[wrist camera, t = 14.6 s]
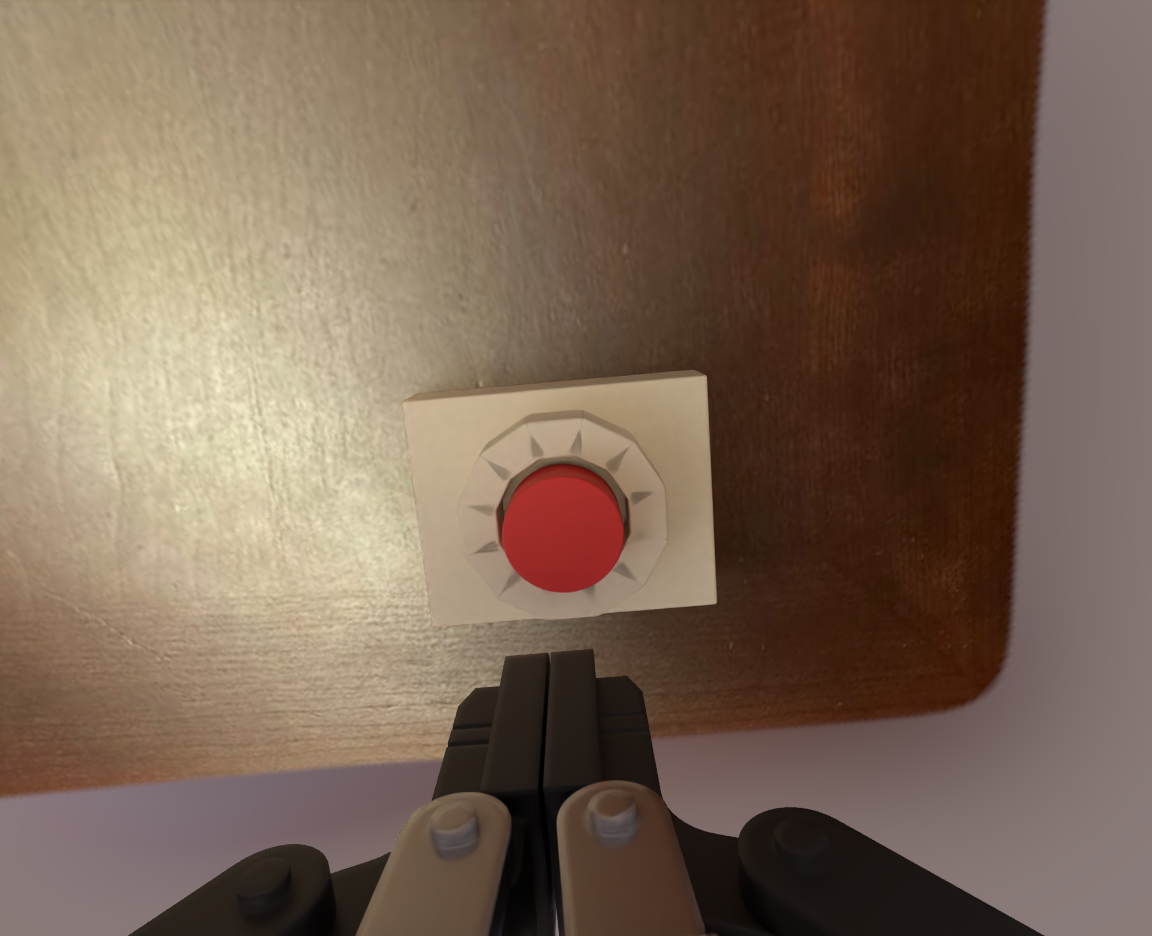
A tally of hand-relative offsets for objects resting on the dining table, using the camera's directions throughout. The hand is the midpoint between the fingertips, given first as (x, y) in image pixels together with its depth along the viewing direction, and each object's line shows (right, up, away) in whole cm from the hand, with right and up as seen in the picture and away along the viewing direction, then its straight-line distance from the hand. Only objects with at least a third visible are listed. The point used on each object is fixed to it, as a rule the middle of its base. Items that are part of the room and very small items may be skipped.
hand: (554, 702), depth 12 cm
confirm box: (0, +3, +14) cm, 14 cm away
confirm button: (0, +2, +10) cm, 11 cm away
